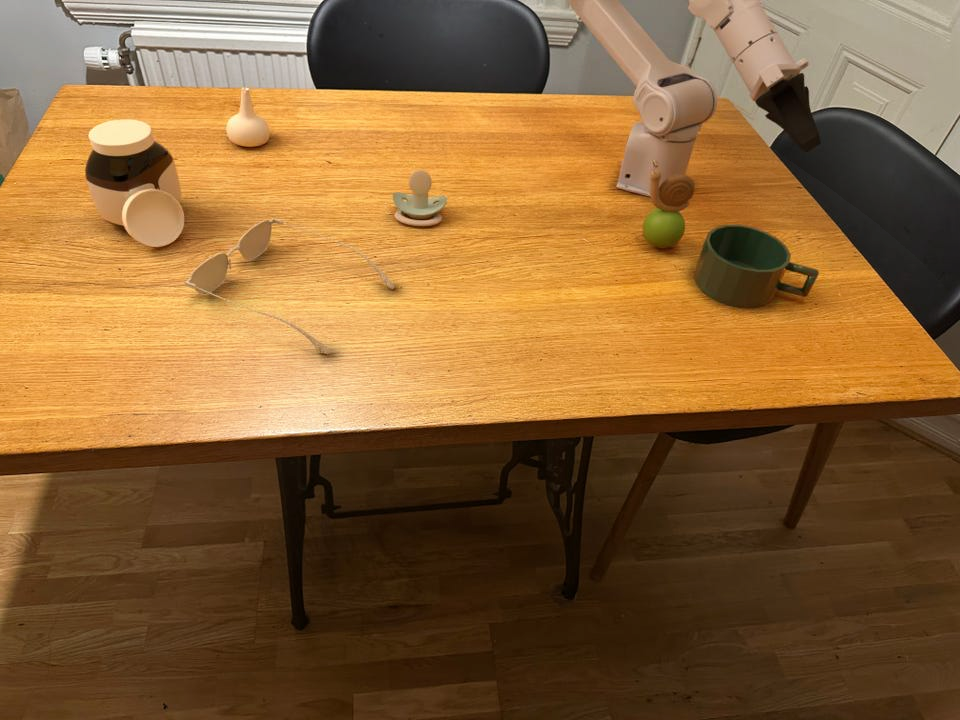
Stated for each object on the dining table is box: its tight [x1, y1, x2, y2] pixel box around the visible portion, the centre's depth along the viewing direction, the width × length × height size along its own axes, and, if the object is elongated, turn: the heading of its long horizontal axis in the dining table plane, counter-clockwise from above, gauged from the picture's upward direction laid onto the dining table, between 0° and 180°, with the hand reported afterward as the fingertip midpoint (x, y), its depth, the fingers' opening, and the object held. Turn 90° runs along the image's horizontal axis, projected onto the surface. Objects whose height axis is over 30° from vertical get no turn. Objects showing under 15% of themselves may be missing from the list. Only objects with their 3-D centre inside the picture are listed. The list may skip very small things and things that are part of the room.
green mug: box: [693, 224, 820, 309], centre depth 86 cm, size 14×10×6 cm
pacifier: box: [392, 169, 448, 227], centre depth 93 cm, size 7×6×6 cm
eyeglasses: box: [184, 217, 395, 355], centre depth 79 cm, size 15×18×4 cm
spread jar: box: [84, 119, 185, 248], centre depth 85 cm, size 12×11×12 cm
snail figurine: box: [642, 161, 696, 249], centre depth 90 cm, size 5×6×12 cm
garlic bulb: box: [225, 87, 271, 148], centre depth 104 cm, size 6×6×8 cm
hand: (811, 144), depth 84 cm, fingers open, 7 cm apart
